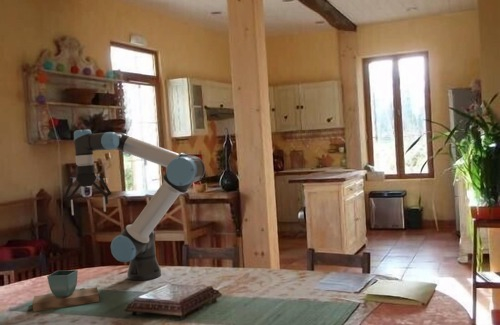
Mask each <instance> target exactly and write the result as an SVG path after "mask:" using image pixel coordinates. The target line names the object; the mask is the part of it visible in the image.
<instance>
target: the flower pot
mask: <svg viewBox="0 0 500 325" xmlns="http://www.w3.org/2000/svg"><path fill="white" fill-rule="evenodd" d="M78 272H79V271H78V269H71V270H69V269H67V270H56V271H54V272H52V273H49V275H47V281H48V286H49V289H50V292H51V294H54V295H55V296H56V297H67V296H69V295H71V294H72V293H73V292H74V290H76V288H77V284H78Z"/></svg>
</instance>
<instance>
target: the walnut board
mask: <svg viewBox="0 0 500 325" xmlns="http://www.w3.org/2000/svg"><path fill="white" fill-rule="evenodd" d="M97 302H100V296H99V290H98V288H97V287H89V288H81V289H75V290H74V292H73V293H72V294H71V295H69V296H67V297H56V296H55V295H54V294H53V293H47V294H41V295H34V296H33V301H32V311H33V312H39V311H40V312H41V311H44V310H51V309H59V308H66V307H72V306H77V305H78V306H79V305H83V304H84V305H85V304H86V305H87V304H93V303H97Z"/></svg>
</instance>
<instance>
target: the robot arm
mask: <svg viewBox="0 0 500 325" xmlns="http://www.w3.org/2000/svg"><path fill="white" fill-rule="evenodd" d="M73 145H74V152H75V153H74V154H75V156H74V157H75V165H77V166H76V177H72V176H70V177H69V183H68V185H67V188H66V190H65V193H64V195H63V197H62V198H63V200H66V201H67V204H68V208H69V209H70V208H71V216H74V215H75V213H74V202H73V197H74V196H75V194H76V193H77V192H78V190H79V189H80V187H86V186H87V187H91V186H94V188H96V190H98V192H100V193H101V194H102V195H103V196H102V204H103V206H102V207H103V212H104V213H106V212H107V208H106V207H107V206H106V205H107V204H108V203H109V201H108V197H109V196H110V195H111V196H112V192H111V189H110V188H109V187H108V186H107V184H106V182H105V181H104V178H103V174H99V175H96V173H95V165H94V163H95V161H94V152H95V151H111V150H113V151H114V150H117V151H120V152H123V153H126V154H129V155H132V156H135V157H137V158H140V159H142V160H145V161H148V162H150V163H154V164H157V165H159V166H162V167H164V168H166V172H165V173H164V175H163V176H162V180H163V182H162V183H161V185H160V186H159V188H158V189H157V191H155V194H153V196H152V197H151V199H150V200H149V201H148V202H147V204H146V205H145V206H144V208H143V210H142V211H141V212H140V214H138V216H137V217H136V219H135V220H134V222H132V223H131V224H127V225H126V226H125V228H124V229H122V230H123V231H121V233H120V234H119V235H117V236H115V237H114V238H113V239H112V241H111V244H110V251H111V254H112V256H113V258H115V260H117V261H118V262H121V263H129V265H128V268H127V275H126V276H127V279H128V280H129V281H145V280H146V281H147V280H151V279H155V278H158V277H161V276H162V270H161V267H160V265H159V262H158V260H157V256H156V254H157V253H156V242H155V231H154V229H155V228H156V227H157V226H158V224H159V223H160V222H161V221H162V219H163V218H164V216H165V215H166V213H167V212H168V211H169V209H170V208H171V207H172V205H173V204H174V202H175V201H176V200H177V198H178V197H179V196H180V195H182V194H183V195H184V194H186V192H187V191H188V190H189V189H190V188H191V186H192V185H193V184H194V183H196V182H199V181H201V179H203V177H204V176H205V173H206V166H205V163H204V161H203V159H201V158H200V157H198V156H196V155H191V154H188V153H185V152H181V153H177V152H175V151H172V150H169V149H167V148H164V147H161V146H158V145H155V144H151V143H150V142H146V141H143V140H141V139H138V138H134V137H132V136H129V135H128V134H126V133H124V132H114V131H107V132H106V131H105V132H99V133H92V131H91V129H78V130H75V131H74V132H73ZM96 179H97V180H98V181H100V183H101V185H102V186H103V187H104V189H105V191H106V192H105V191H104V190H103V189H102V188H101V187H100V186H99V185H98V184H97V183H95V181H96ZM75 181H76V182H77V183H78V184H77V185H76V187H75V188H74V189H73V190H72V192H71V193H70V190H71V187H72V185H73V183H75ZM69 193H70V194H69ZM68 195H69V196H68Z"/></svg>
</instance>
